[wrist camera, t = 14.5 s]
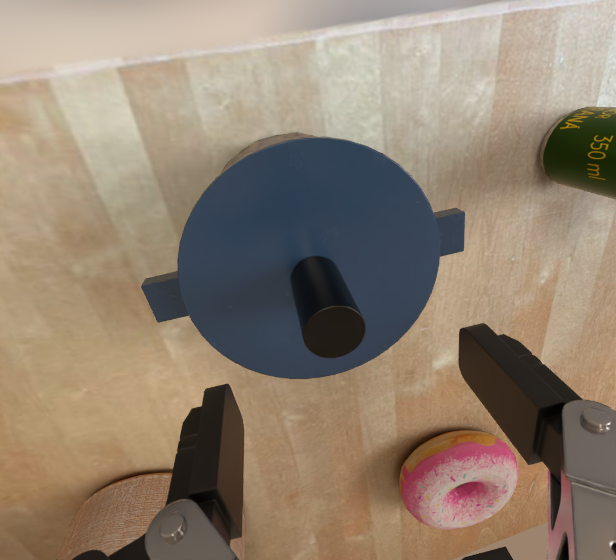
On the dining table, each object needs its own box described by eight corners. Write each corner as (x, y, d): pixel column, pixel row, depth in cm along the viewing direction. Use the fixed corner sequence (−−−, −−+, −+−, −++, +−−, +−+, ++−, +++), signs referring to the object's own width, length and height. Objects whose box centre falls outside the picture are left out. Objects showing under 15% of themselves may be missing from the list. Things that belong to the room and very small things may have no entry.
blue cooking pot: (141, 164, 23) (90, 195, 16) (405, 107, 24) (476, 111, 17) (202, 320, 29) (186, 397, 22) (413, 270, 30) (468, 328, 23)
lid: (136, 169, 16) (80, 205, 11) (428, 107, 17) (512, 111, 11) (225, 389, 23) (217, 479, 17) (433, 338, 23) (488, 410, 18)
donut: (497, 479, 46) (523, 520, 42) (397, 507, 46) (413, 550, 41) (503, 407, 40) (535, 446, 35) (388, 438, 39) (405, 481, 35)
